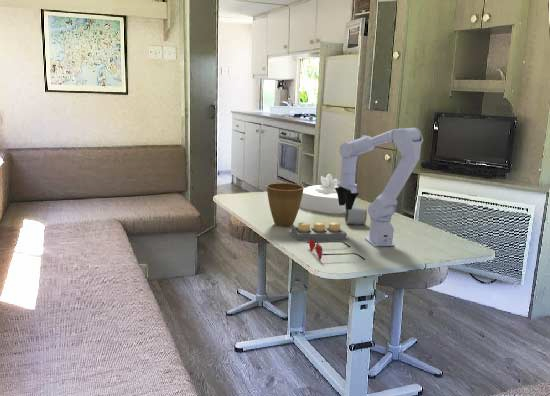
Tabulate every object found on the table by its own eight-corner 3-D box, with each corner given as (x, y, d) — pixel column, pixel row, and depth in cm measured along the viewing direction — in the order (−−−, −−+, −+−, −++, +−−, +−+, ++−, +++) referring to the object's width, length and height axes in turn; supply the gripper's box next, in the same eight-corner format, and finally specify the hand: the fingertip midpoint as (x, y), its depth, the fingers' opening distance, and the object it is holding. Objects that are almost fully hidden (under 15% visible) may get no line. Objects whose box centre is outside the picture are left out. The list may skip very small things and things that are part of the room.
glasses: (306, 248, 179) (307, 235, 177) (350, 247, 182) (351, 234, 181) (318, 262, 165) (319, 247, 164) (365, 260, 169) (367, 246, 168)
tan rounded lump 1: (326, 232, 191) (326, 225, 190) (315, 232, 190) (315, 225, 189) (322, 229, 195) (323, 222, 194) (311, 229, 194) (312, 222, 193)
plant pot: (294, 219, 216) (296, 182, 213) (306, 228, 202) (309, 189, 199) (260, 220, 211) (262, 182, 208) (271, 230, 198) (273, 190, 194)
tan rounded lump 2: (341, 232, 192) (341, 225, 191) (330, 232, 191) (330, 225, 190) (337, 229, 196) (338, 222, 196) (326, 229, 195) (327, 222, 195)
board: (346, 239, 191) (346, 233, 190) (297, 240, 186) (297, 234, 186) (335, 229, 203) (335, 224, 202) (289, 230, 199) (289, 224, 198)
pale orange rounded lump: (310, 232, 189) (311, 225, 189) (299, 233, 188) (300, 225, 188) (307, 229, 194) (308, 222, 193) (296, 229, 193) (297, 222, 192)
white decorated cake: (340, 215, 227) (342, 180, 223) (291, 206, 239) (293, 173, 236) (361, 206, 248) (364, 173, 244) (315, 198, 260) (317, 167, 257)
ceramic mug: (366, 226, 210) (368, 208, 208) (347, 225, 210) (348, 207, 208) (361, 220, 220) (362, 203, 219) (342, 219, 220) (344, 202, 218)
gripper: (365, 176, 190) (362, 211, 193) (350, 170, 204) (347, 202, 207) (347, 176, 188) (345, 211, 191) (333, 169, 202) (331, 203, 205)
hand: (345, 207), depth 199 cm, fingers open, 6 cm apart
